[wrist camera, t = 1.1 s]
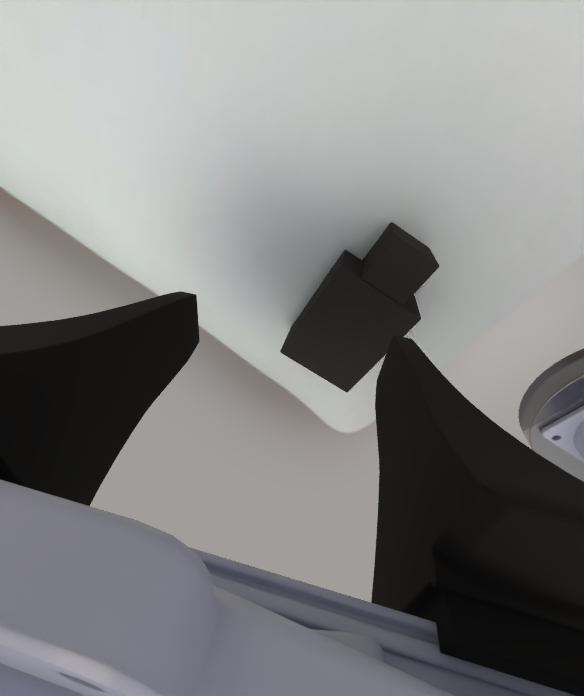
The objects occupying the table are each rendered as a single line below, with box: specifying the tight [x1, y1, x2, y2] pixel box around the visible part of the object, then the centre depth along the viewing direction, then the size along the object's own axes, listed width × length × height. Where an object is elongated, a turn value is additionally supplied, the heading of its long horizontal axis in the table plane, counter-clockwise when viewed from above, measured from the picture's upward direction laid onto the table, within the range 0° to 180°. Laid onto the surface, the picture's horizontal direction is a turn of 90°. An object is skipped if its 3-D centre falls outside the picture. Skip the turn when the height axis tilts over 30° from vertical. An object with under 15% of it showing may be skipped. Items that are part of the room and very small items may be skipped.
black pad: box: [281, 222, 439, 392], centre depth 18 cm, size 5×9×3 cm, turn 150°
